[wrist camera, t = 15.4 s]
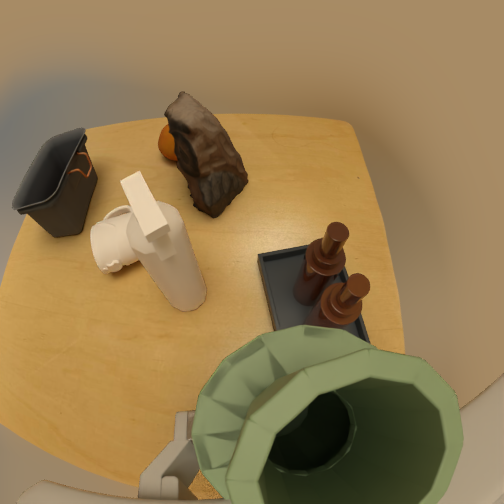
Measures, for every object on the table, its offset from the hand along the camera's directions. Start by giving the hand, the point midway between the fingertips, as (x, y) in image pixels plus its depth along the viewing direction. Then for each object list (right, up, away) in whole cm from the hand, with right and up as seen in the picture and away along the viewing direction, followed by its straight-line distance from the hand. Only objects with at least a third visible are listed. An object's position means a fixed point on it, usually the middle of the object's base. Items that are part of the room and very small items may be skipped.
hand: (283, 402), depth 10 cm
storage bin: (-40, +17, +43) cm, 61 cm away
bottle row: (+8, -3, +31) cm, 32 cm away
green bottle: (0, -5, +8) cm, 9 cm away
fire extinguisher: (-12, +1, +34) cm, 36 cm away
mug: (-24, +7, +37) cm, 45 cm away
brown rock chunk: (-8, +18, +43) cm, 48 cm away
